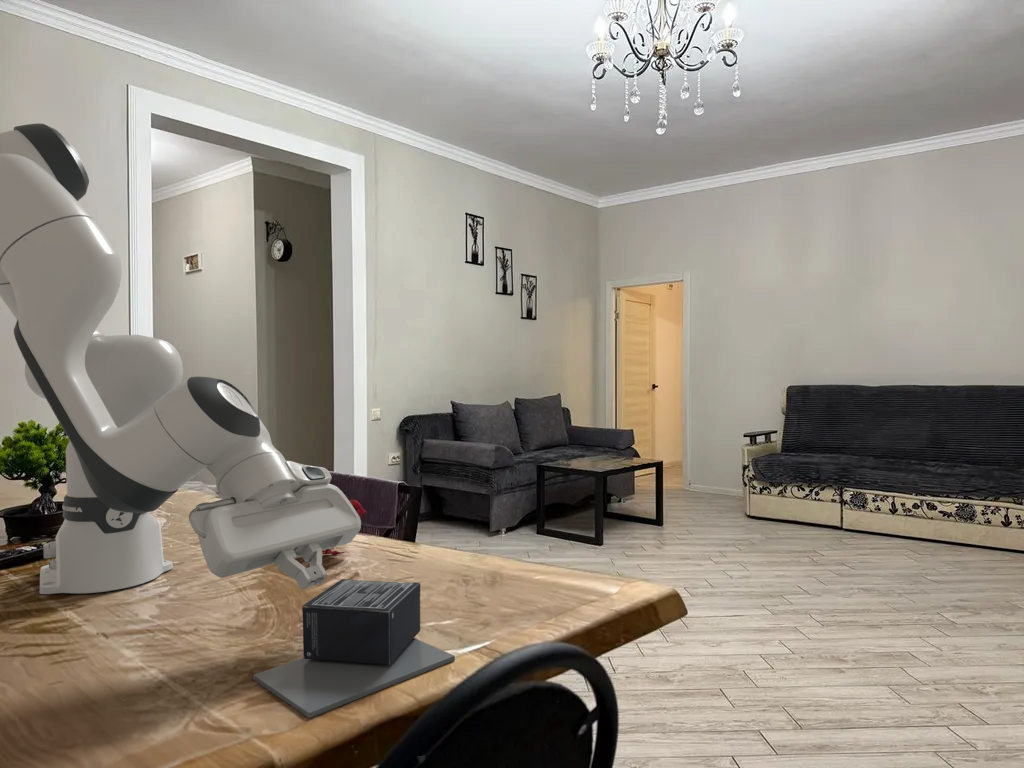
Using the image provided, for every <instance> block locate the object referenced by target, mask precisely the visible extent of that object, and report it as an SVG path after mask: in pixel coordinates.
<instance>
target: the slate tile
mask: <svg viewBox="0 0 1024 768" xmlns="http://www.w3.org/2000/svg"><path fill="white" fill-rule="evenodd" d="M455 660H456V655H454V654H452V653H450V652H447V651H445V650H442V649H441V648H439V647H435V646H433V645H431V644H429V643H426V642H424V641H422V640H420V639H417V638H415V637H414V638H413V639H412V641H411V642H410V643H409V644H408V645H407V646H406V647H405V648H404V650H403V651H402V652H401V653H400V654H399V655H398V656H397V658H396V659H395V660H394V661H393V662H392V663H391V664H390V665H385V664H371V663H358V662H344V661H330V660H314V659H304V657H303V658H299V659H297V660H293V661H291V662H288V663H285V664H281V665H279V666H275V667H273V668H269V669H266V670H263V671H260V672H257V673H255V674H252V680H253V681H255V682H256V683H258V684H259V685H261V686H262V687H263V688H264V689H267V691H269V692H270V693H272V694H274V695H275V696H276V697H278V698H279V699H280V700H281V701H283V702H285V703H287V704H288V705H289V704H290V705H289V706H290V707H293V708H294V709H295V710H296V711H298V712H300V713H301V714H302V715H304V716H305V717H307V718H308V719H311V718H314V717H316V716H319V715H321V714H324V713H326V712H328V711H331V710H333V709H336V708H339V707H340V706H344V705H346V704H349V703H351V702H354V701H356V700H358V699H361V698H363V697H366V696H368V695H371V694H373V693H377V692H379V691H381V690H384V689H385V688H388V687H391V686H394V685H396V684H399V683H400V682H404V681H406V680H408V679H411V678H414V677H416V676H419V675H421V674H423V673H425V672H428V671H431V670H434V669H436V668H438V667H441V666H443V665H446V664H449V663H450V662H454V661H455Z"/></svg>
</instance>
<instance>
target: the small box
mask: <svg viewBox="0 0 1024 768" xmlns="http://www.w3.org/2000/svg"><path fill="white" fill-rule="evenodd" d="M301 609H302V610H301V611H302V643H303V644H302V646H303V647H302V652H303V658H304V659H314V660H330V661H344V662H358V663H371V664H385V665H390V664H391V663H392V662H393V661H394V660H395V659H396V658H397V656H398V655H399V654H400V653H401V652H402V651H403V650H404V648H405V647H406V646H407V645H408V644H409V643H410V642H411V641H412V639H413V638H415V637H416V636H417V635H418V634H419V633H420V632H421V583H420V582H416V581H415V582H397V581H396V582H394V581H393V582H392V581H391V582H390V581H377V580H375V581H373V580H359V579H357V580H356V579H345V578H342V579H340V580H339V581H337V582H336V583H334V584H333V585H331V586H330V587H328V588H326V589H325V590H324V591H322V592H320V594H318V595H316V596H314V597H313V598H312V599H310V600H309V601H307V602H305V603H304V604H302V608H301Z"/></svg>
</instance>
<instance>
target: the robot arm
mask: <svg viewBox="0 0 1024 768" xmlns="http://www.w3.org/2000/svg"><path fill="white" fill-rule="evenodd" d="M89 179H90V178H89V175H88V173H87V170H86V165H85V162H84V160H83V158H82V156H81V155H80V153H79V152H78V150H77V149H76V148H75V146H74V145H73V144H72V143H71V142H70V141H69V140H67V139H66V138H65V137H64V136H63V135H62V133H61V132H59V131H58V130H57V129H56V128H53V127H51V126H49V125H47V124H45V123H28V124H23V125H18V126H17V125H16V126H14V127H13V130H9V131H3V132H0V298H1V299H2V301H3V302H4V304H5V305H6V306H7V308H8V309H9V310H10V312H11V314H12V315H13V316H14V317H15V319H16V323H15V325H14V327H13V335H14V339H15V341H16V343H17V344H16V345H17V346H18V348H19V351H20V353H21V355H22V357H23V360H24V361H25V365H24V375H25V380H26V383H27V385H28V387H29V388H30V390H32V392H33V393H34V394H35V395H37V396H38V397H40V398H43V399H45V400H46V401H47V404H48V405H49V407H50V408H51V410H52V411H53V412H52V413H54V416H55V417H56V419H57V421H58V423H59V424H60V426H61V427H62V429H63V432H64V433H65V434H66V437H67V439H68V440H69V442H68V443H67V446H66V447H65V465H66V466H65V468H66V469H65V470H66V471H65V473H66V475H65V476H66V477H65V478H66V494H65V496H63V503H62V507H61V508H62V517H63V519H64V520H63V522H62V524H61V525H60V527H59V530H58V531H57V533H56V536H55V540H54V541H52V540H51V541H49V542H48V543H44V544H43V547H42V548H43V559H46V560H47V559H51V558H55V560H49V562H48V564H46V565H43V566H41V567H40V572H39V594H40V595H52V594H53V595H54V594H93V593H103V592H111V591H116V590H121V589H127V588H132V587H135V586H139V585H141V584H145V583H147V582H150V581H152V580H154V579H156V578H158V577H159V576H161V575H162V574H163V573H165V572H168V571H171V570H172V569H174V566H173V561H171V560H169V559H168V560H167V559H165V558H164V552H163V551H164V550H163V549H164V548H163V547H164V546H163V538H162V527H161V522H160V520H158V519H157V518H155V517H154V516H152V514H151V512H155V511H156V510H158V509H159V508H160V507H161V506H162V505H164V503H165V502H166V501H167V500H169V499H170V498H171V497H172V496H173V495H175V493H176V492H178V491H179V489H180V488H182V486H184V485H186V484H187V483H188V482H189V481H190V480H192V479H193V478H195V477H196V476H197V475H199V474H200V473H202V472H203V471H204V470H206V471H208V472H209V473H210V474H211V475H212V477H213V478H214V481H215V487H216V490H217V493H218V494H219V496H220V498H221V499H219V500H218V499H217V500H215V501H211V502H209V501H207V502H202V503H198V504H197V505H196V506H195V508H193V509H192V510H190V512H189V515H188V521H189V524H190V525H191V528H192V530H193V531H194V533H195V535H197V537H198V542H199V545H200V548H201V552H202V555H203V557H204V560H205V562H206V565H207V568H208V569H209V572H210V573H211V574H213V575H215V576H216V577H218V578H219V579H223V578H228V577H231V576H235V575H239V574H242V573H247V572H249V571H253V570H257V569H260V568H263V567H264V568H265V567H268V566H272V565H275V564H276V565H277V567H278V569H279V571H281V572H283V573H284V574H286V575H287V576H289V577H290V578H292V579H294V580H295V581H296V584H297V585H298V587H299V588H300V589H301V590H305V589H308V588H311V587H314V586H317V585H321V584H323V583H324V582H325V581H326V579H327V578H328V573H327V572H326V570H325V567H324V566H323V552H322V550H325V551H326V549H333V548H336V547H340V546H343V545H347V544H349V543H351V542H352V541H353V540H354V538H356V537H357V535H358V534H359V532H360V530H361V529H362V527H361V526H362V520H361V518H360V517H359V515H358V514H357V512H356V511H355V509H354V507H353V506H352V504H351V503H350V502H349V501H350V500H349V499H348V497H347V496H346V495H345V494H344V492H343V491H342V490H341V489H340V488H339V487H338V486H336V485H335V484H331V483H330V482H331V481H332V475H331V473H330V471H329V470H328V469H327V468H325V467H321V466H315V465H314V466H313V465H309V464H308V465H307V464H303V463H298V462H295V461H292V460H287V459H285V457H284V455H283V454H282V452H280V451H279V450H278V449H277V448H276V447H275V446H274V445H273V443H272V438H271V435H270V432H269V430H268V429H267V427H266V426H265V425H264V423H263V421H262V420H261V418H260V417H259V415H258V413H257V411H256V409H255V408H254V407H253V405H252V404H251V401H249V399H248V398H247V397H246V396H245V394H244V393H243V392H242V391H241V390H240V389H238V387H236V386H235V385H234V384H231V383H230V382H229V381H226V380H225V379H219V378H215V377H210V376H191V377H189V378H188V379H186V380H183V376H184V364H183V360H182V357H181V355H180V352H179V351H178V350H177V349H176V347H175V346H174V345H172V344H171V343H170V342H169V341H166V340H164V339H160V338H156V337H152V336H147V335H141V334H140V335H139V334H125V335H124V334H123V335H122V334H119V335H117V334H115V335H105V334H103V333H101V332H100V331H99V330H98V327H99V325H100V323H101V322H102V320H103V319H104V317H105V316H106V315H107V313H108V312H109V310H110V308H111V307H112V305H113V304H114V301H115V300H116V297H117V295H118V293H119V290H120V286H121V283H122V282H121V280H122V263H121V259H120V257H119V254H118V253H117V251H116V248H114V247H115V246H113V243H112V242H111V241H110V239H109V238H108V237H107V235H106V234H105V233H104V231H103V230H102V228H101V227H100V226H99V224H98V223H97V222H96V221H95V220H94V218H93V217H92V216H91V215H90V214H89V213H88V212H87V210H86V209H85V208H84V206H82V205H81V203H80V202H79V201H80V200H81V199H82V198H83V197H85V195H86V194H87V191H88V187H89V183H90V180H89ZM182 380H183V381H182ZM299 557H300V558H301V557H302V559H303V561H304V562H305V563H308V562H309V567H306V566H304V565H303V564H301V563H300V562H299V561H298V560H296V559H297V558H299Z"/></svg>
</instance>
